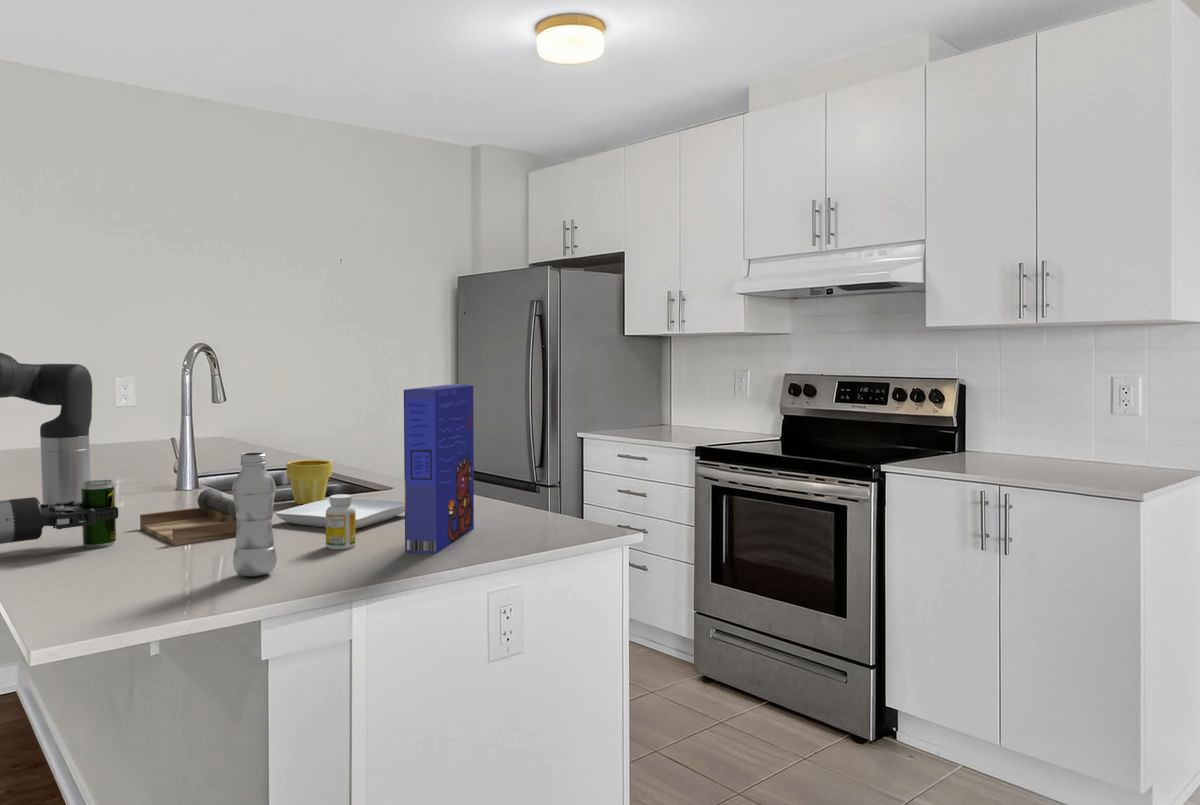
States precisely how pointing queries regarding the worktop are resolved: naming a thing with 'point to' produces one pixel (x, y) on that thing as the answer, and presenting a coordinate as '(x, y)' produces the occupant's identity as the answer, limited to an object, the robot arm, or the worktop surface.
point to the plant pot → (309, 479)
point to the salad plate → (364, 508)
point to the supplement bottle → (340, 523)
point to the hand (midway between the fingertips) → (111, 509)
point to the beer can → (96, 497)
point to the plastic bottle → (254, 517)
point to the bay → (194, 521)
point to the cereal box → (438, 466)
